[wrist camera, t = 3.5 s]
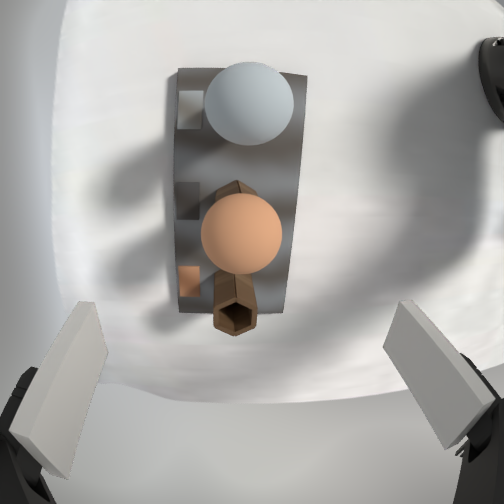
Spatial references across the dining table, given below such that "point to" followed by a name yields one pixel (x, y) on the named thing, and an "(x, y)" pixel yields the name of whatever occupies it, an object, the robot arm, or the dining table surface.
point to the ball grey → (249, 103)
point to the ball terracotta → (241, 233)
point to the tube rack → (221, 185)
